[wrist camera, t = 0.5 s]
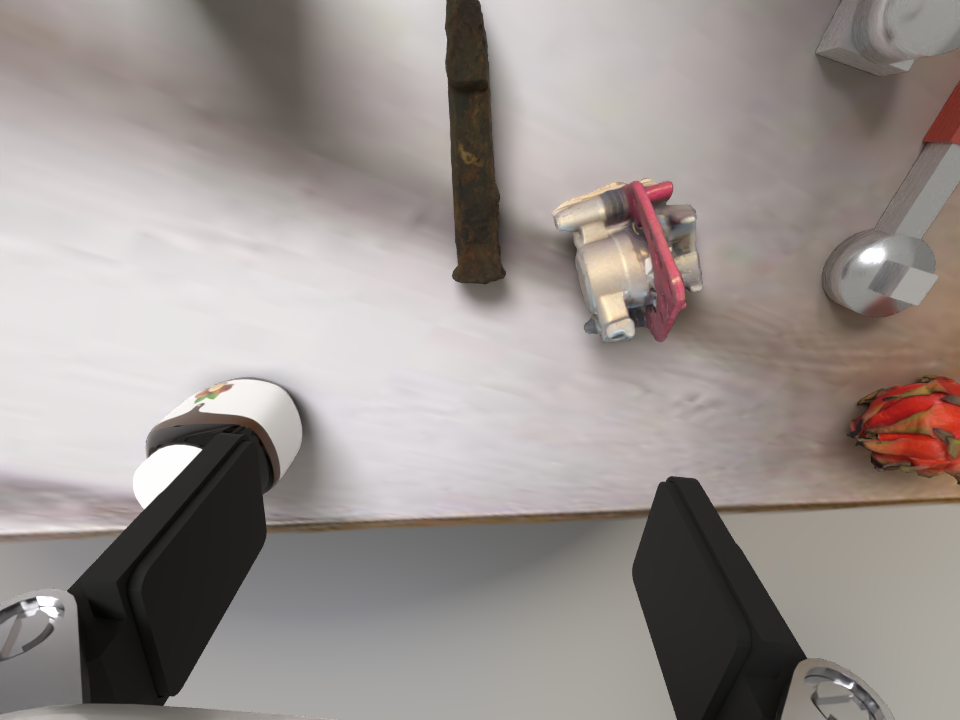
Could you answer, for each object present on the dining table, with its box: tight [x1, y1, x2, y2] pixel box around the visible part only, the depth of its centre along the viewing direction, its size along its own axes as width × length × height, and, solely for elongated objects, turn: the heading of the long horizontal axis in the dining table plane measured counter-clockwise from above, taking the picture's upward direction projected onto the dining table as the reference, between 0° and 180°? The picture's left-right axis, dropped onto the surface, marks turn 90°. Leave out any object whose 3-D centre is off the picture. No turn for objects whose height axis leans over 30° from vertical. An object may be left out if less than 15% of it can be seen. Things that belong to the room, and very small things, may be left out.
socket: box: [815, 0, 960, 76], centre depth 28 cm, size 5×5×6 cm
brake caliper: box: [552, 179, 703, 343], centre depth 34 cm, size 11×11×12 cm
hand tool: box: [445, 0, 506, 284], centre depth 32 cm, size 19×4×5 cm, turn 0°
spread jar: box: [133, 377, 302, 509], centre depth 40 cm, size 12×11×12 cm
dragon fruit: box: [847, 375, 960, 484], centre depth 39 cm, size 8×8×12 cm
